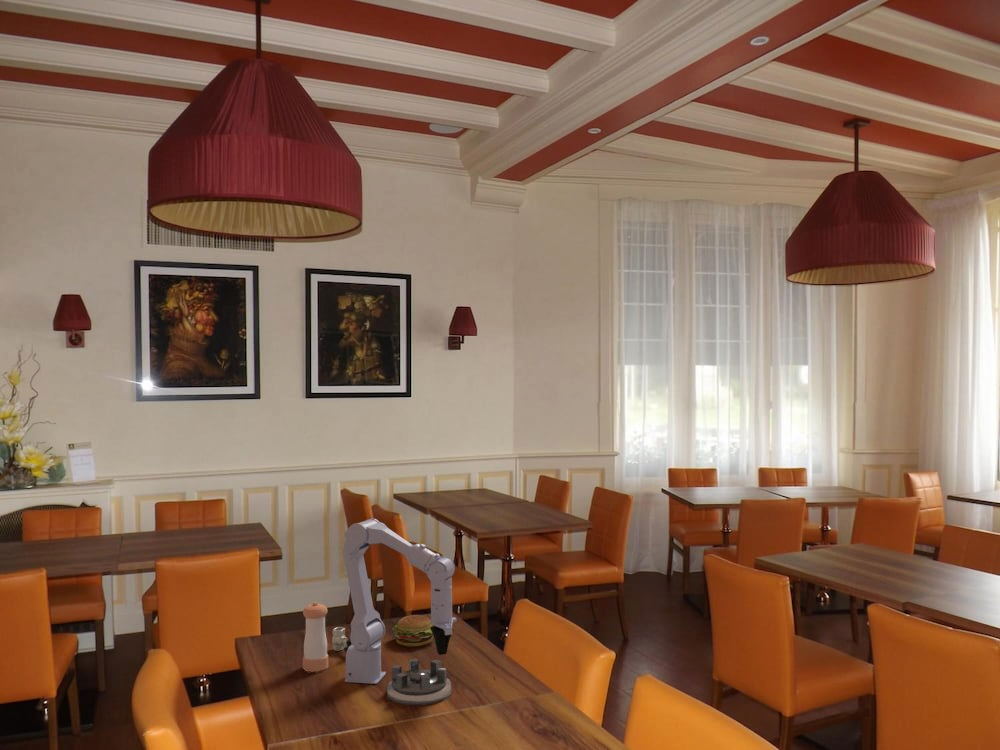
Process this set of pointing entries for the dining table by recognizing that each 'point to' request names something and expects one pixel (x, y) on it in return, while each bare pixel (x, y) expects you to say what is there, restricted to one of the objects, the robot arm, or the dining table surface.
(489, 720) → the dining table surface
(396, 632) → the food
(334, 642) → the valve
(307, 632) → the salt shaker
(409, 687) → the finned metal hub
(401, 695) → the cap base
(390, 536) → the robot arm
